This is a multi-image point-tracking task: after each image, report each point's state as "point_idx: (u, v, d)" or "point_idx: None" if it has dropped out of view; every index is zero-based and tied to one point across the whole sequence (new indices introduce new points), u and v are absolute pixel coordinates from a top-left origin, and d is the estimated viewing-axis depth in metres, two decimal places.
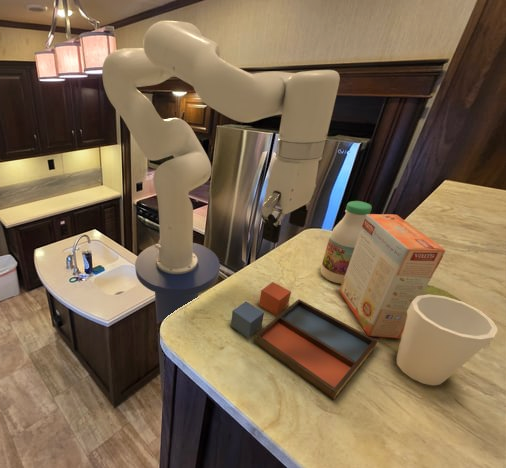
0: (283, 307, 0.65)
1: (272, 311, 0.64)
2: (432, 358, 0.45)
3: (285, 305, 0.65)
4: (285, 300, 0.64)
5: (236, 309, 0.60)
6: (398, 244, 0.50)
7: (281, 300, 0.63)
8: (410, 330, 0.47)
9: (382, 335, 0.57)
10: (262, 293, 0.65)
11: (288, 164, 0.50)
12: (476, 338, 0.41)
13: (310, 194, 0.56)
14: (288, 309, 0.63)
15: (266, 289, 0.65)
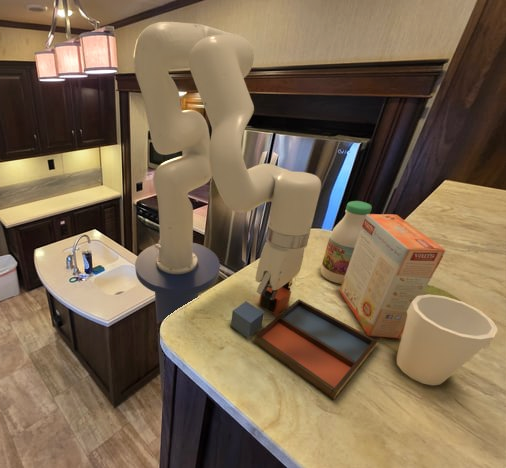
0: (283, 307, 0.65)
1: None
2: (432, 358, 0.45)
3: (285, 305, 0.65)
4: (285, 300, 0.64)
5: (236, 309, 0.60)
6: (398, 244, 0.50)
7: (281, 300, 0.63)
8: (410, 330, 0.47)
9: (382, 335, 0.57)
10: None
11: (277, 250, 0.56)
12: (476, 338, 0.41)
13: (298, 269, 0.62)
14: (288, 309, 0.63)
15: None
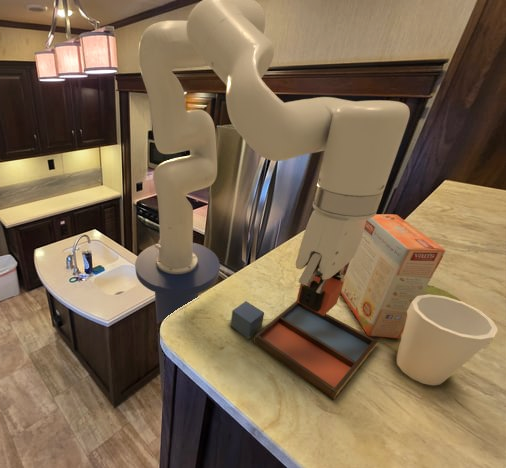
0: (332, 304, 0.47)
1: None
2: (432, 358, 0.45)
3: (335, 301, 0.47)
4: (336, 294, 0.46)
5: (236, 309, 0.60)
6: (398, 244, 0.50)
7: (332, 294, 0.45)
8: (410, 330, 0.47)
9: (382, 335, 0.57)
10: None
11: (333, 220, 0.38)
12: (476, 338, 0.41)
13: (355, 251, 0.44)
14: (288, 309, 0.63)
15: None
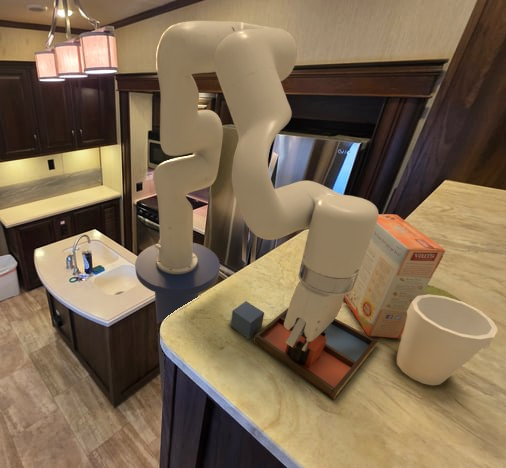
0: (317, 357, 0.52)
1: None
2: (432, 358, 0.45)
3: (319, 354, 0.53)
4: (320, 349, 0.52)
5: (236, 309, 0.60)
6: (398, 244, 0.50)
7: (316, 351, 0.50)
8: (410, 330, 0.47)
9: (382, 335, 0.57)
10: None
11: (315, 295, 0.44)
12: (476, 338, 0.41)
13: (337, 313, 0.50)
14: None
15: None
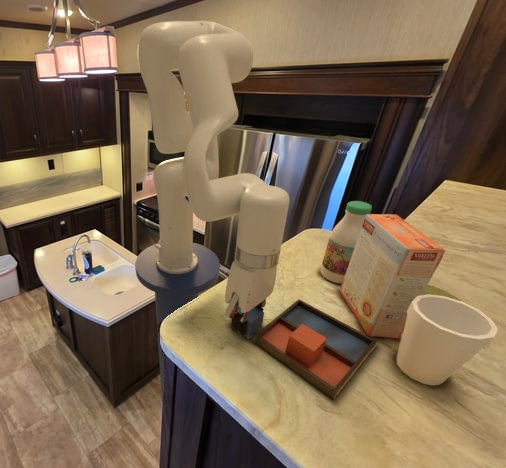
0: (317, 357, 0.52)
1: (304, 362, 0.52)
2: (432, 358, 0.45)
3: (319, 354, 0.53)
4: (320, 349, 0.52)
5: None
6: (398, 244, 0.50)
7: (316, 351, 0.50)
8: (410, 330, 0.47)
9: (382, 335, 0.57)
10: (290, 339, 0.53)
11: (244, 271, 0.51)
12: (476, 338, 0.41)
13: (270, 289, 0.57)
14: (288, 309, 0.63)
15: (296, 334, 0.53)
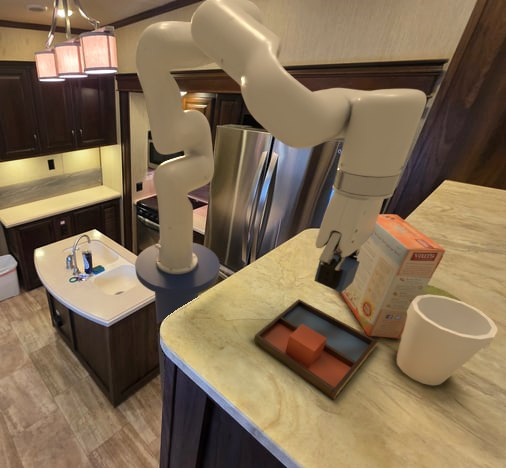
0: (317, 357, 0.52)
1: (304, 362, 0.52)
2: (432, 358, 0.45)
3: (319, 354, 0.53)
4: (320, 349, 0.52)
5: None
6: (398, 244, 0.50)
7: (316, 351, 0.50)
8: (410, 330, 0.47)
9: (382, 335, 0.57)
10: (290, 339, 0.53)
11: (353, 200, 0.41)
12: (476, 338, 0.41)
13: (371, 232, 0.47)
14: (288, 309, 0.63)
15: (296, 334, 0.53)
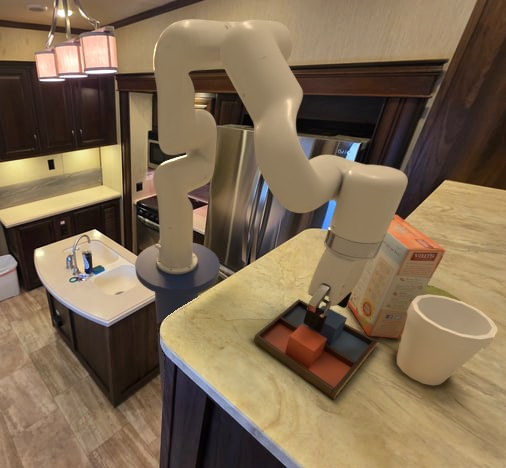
0: (316, 357, 0.52)
1: (304, 362, 0.52)
2: (432, 358, 0.45)
3: (319, 354, 0.53)
4: (320, 349, 0.51)
5: None
6: (398, 244, 0.50)
7: (316, 351, 0.50)
8: (410, 330, 0.47)
9: (382, 335, 0.57)
10: (290, 339, 0.53)
11: (341, 260, 0.46)
12: (476, 338, 0.41)
13: (357, 281, 0.53)
14: (288, 309, 0.63)
15: (296, 335, 0.53)
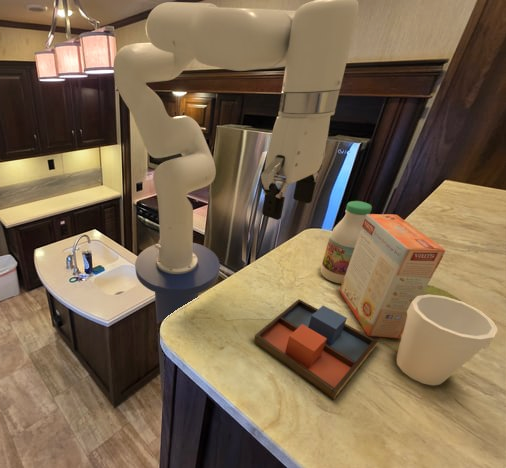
0: (316, 357, 0.52)
1: (304, 362, 0.52)
2: (432, 358, 0.45)
3: (319, 354, 0.53)
4: (320, 349, 0.51)
5: (315, 314, 0.57)
6: (398, 244, 0.50)
7: (316, 351, 0.50)
8: (410, 330, 0.47)
9: (382, 335, 0.57)
10: (290, 339, 0.53)
11: (294, 120, 0.41)
12: (476, 338, 0.41)
13: (319, 161, 0.47)
14: (288, 309, 0.63)
15: (296, 335, 0.53)
